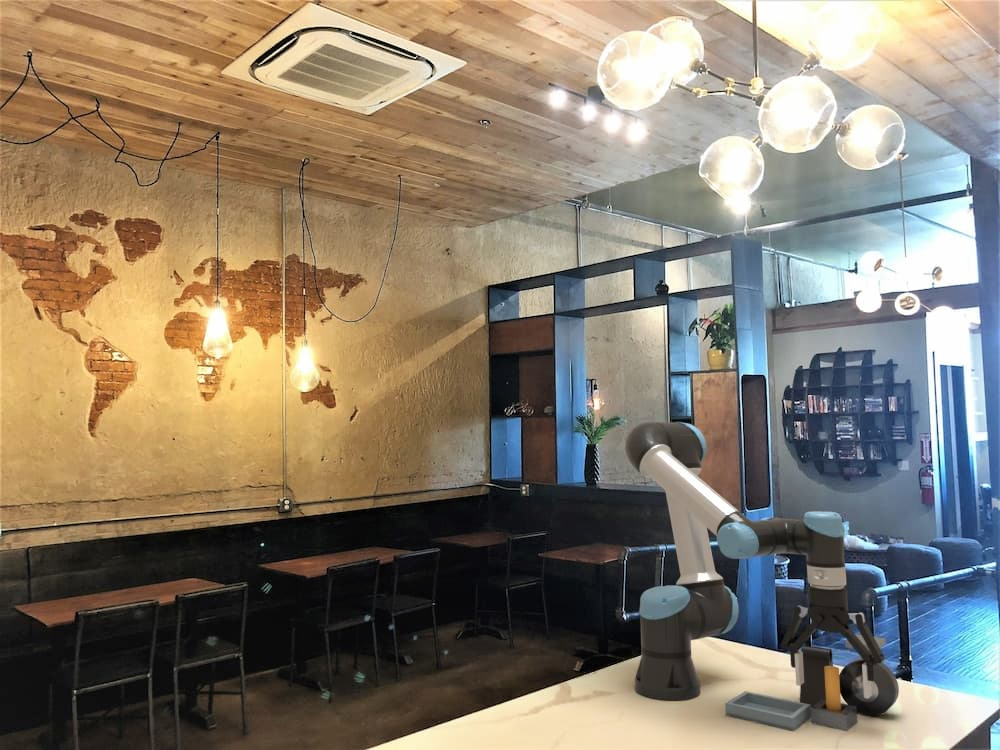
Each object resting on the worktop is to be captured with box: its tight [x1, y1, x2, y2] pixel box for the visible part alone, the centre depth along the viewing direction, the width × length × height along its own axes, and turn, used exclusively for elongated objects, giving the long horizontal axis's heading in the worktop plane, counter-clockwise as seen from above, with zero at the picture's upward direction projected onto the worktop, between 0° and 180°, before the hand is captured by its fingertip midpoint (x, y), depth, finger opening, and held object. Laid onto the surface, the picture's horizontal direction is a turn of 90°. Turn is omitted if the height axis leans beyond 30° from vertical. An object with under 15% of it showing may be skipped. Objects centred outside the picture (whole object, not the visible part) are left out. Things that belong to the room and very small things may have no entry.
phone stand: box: [799, 644, 834, 708], centre depth 169 cm, size 9×6×12 cm, turn 142°
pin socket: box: [810, 700, 858, 732], centre depth 157 cm, size 7×7×3 cm
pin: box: [824, 665, 842, 712], centre depth 157 cm, size 3×3×11 cm
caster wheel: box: [839, 634, 900, 717], centre depth 163 cm, size 11×8×15 cm
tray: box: [724, 690, 812, 732], centre depth 161 cm, size 14×10×2 cm
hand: (833, 690), depth 157 cm, fingers open, 13 cm apart
